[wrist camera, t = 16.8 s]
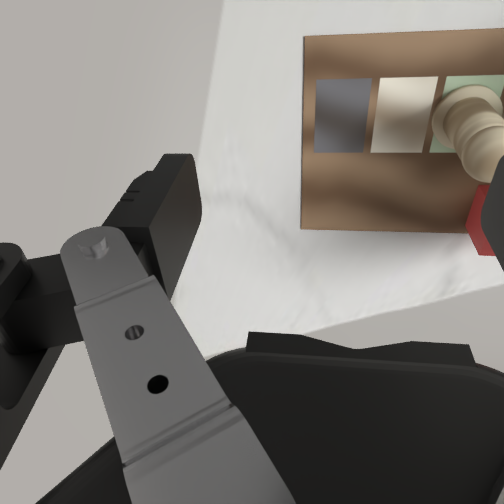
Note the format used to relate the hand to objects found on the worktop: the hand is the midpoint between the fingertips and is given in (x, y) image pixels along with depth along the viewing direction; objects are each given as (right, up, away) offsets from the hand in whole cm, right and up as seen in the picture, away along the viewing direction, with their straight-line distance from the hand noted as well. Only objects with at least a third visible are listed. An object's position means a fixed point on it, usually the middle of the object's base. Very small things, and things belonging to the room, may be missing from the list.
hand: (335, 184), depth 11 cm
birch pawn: (+17, +10, +25) cm, 32 cm away
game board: (+14, +8, +28) cm, 32 cm away
